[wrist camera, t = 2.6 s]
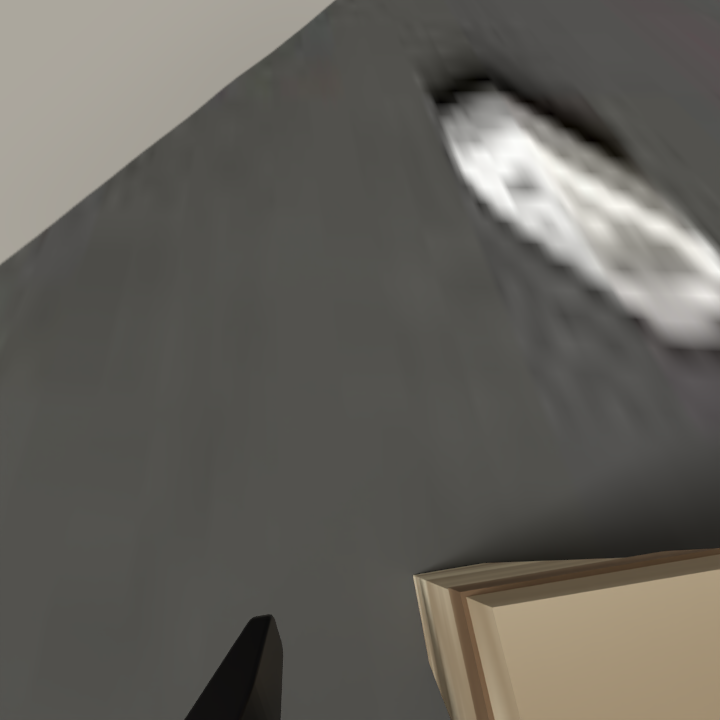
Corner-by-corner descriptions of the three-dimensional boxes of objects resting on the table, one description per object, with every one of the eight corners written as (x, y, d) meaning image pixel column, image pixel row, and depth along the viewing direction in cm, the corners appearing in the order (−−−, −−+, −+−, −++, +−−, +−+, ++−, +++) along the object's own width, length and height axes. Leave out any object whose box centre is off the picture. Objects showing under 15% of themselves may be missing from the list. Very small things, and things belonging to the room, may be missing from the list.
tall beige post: (509, 651, 13) (1252, 1196, 2) (428, 665, 13) (657, 1300, 2) (485, 561, 15) (837, 542, 3) (411, 573, 15) (482, 601, 3)
